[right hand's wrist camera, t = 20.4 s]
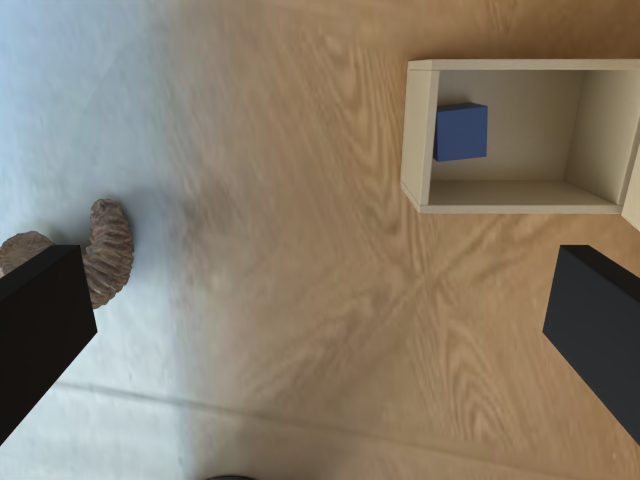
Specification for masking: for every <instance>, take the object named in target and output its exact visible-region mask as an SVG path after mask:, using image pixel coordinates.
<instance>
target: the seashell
mask: <svg viewBox="0 0 640 480" xmlns="http://www.w3.org/2000/svg"><path fill="white" fill-rule="evenodd" d="M90 219H91V222H92V225H91V226H90V228H91V231H92V234H91V236H90V238H89V240H90V242H91V243H92V244H91V245H89V246H87V247H86V248H85V249H86V253H87V254H82V259H83V263H84V268H85V273H86V278H87V283H88V288H89V293H90V297H91V302H92V307H93V309H97V308H99V307H100V306H101V305H106V304H107V303H108V301H109V300H111V299H112V298H113V297H115V294H116V293H119V291H121V290H122V288H123V286H125V285H126V284H127V282H128V279H129V277H130V275H129V274H130V272H131V269H132V266H131V264H132V263H133V258H134V257H133V256H132V253H133V252H134V245H133V242H132V241H133V239H132V233H131V231H130V230H129V224H128V222H127V219H126V218H125V217H124V215H123V214H122V210H121V208H120V204H118V203H115V202H114V201H112V200H110V199H106V200H104V199H100V200H98V201H96V202H95V203H94V204H93V206H92V208H91V216H90ZM51 245H56V244H55V243H53V242H51V241H50V239H48V238H47V237H45V236H44V235H41V234H39V233H38V232H36V231H30V232H27V233H21V234H17V235H16V236H13V237H11V238H9V239H7V241H5V242H4V243H3V244H2V246H1V247H0V278H2V277H3V276H5V275H6V274H8V273H9V272H11V271H12V270H14V269H15V268H17V267H18V266H20V265H22V264H23V263H25V262H26V261H28V260H29V259H31V258H32V257H34V256H35V255H37V254H39V253H40V252H42V251H43V250H45V249H46V248H48V247H49V246H51Z"/></svg>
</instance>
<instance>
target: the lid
mask: <svg viewBox="0 0 640 480" xmlns="http://www.w3.org/2000/svg"><path fill="white" fill-rule="evenodd" d="M621 216H623V217H624V218H625V219H626V220H627V221H628V222H629V223H631V224H632V225H633V226H634V227H635V228H636V229H637V230H639V231H640V144H639V148H638V151H637V155H636V159H635V163H634V167H633V171H632V175H631V179H630V183H629V187H628V191H627V195H626V199H625V203H624V207H623V211H622V215H621Z"/></svg>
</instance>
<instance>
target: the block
mask: <svg viewBox="0 0 640 480" xmlns="http://www.w3.org/2000/svg"><path fill="white" fill-rule="evenodd" d="M487 121H488V106H485V105H481V104H477V103H472V102H470V103H461V104H452V105H444V106H437V112H436V123H435V134H434V145H433V157H432V158H433V159H435V160H436V161H437V162H442V161H451V160H460V159H469V158H479V157H486V156H487Z"/></svg>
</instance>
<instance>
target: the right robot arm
mask: <svg viewBox="0 0 640 480" xmlns="http://www.w3.org/2000/svg"><path fill="white" fill-rule="evenodd" d="M97 332H98V331H97V327H96V322H95V317H94V312H93V307H92V302H91V297H90V293H89V288H88V283H87V278H86V273H85V268H84V263H83V259H82V254H81V249H80V245H51V246H49V247H48V248H46V249H45V250H43V251H42V252H40V253H39V254H37V255H35V256H34V257H32V258H31V259H29V260H28V261H26V262H25V263H23V264H22V265H20V266H18V267H17V268H15V269H14V270H12V271H11V272H9V273H8V274H6V275H5V276H3V277H2V278H0V446H1V445H2V444H3V442H4V441H5V440H6V439H7V438H8V437H9V435H10V434H11V433H12V432H13V431H14V429H15V428H16V427H17V426H18V425H19V424H20V422H21V421H22V420H23V419H24V418H25V417H26V415H27V414H28V413H29V412H30V411H31V410H32V408H33V407H34V406H35V405H36V404H37V402H38V401H39V400H40V399H41V398H42V397H43V395H44V394H45V393H46V392H47V391H48V390H49V388H50V387H51V386H52V385H53V384H54V383H55V381H56V380H57V379H58V378H59V377H60V376H61V374H62V373H63V372H64V371H65V370H66V368H67V367H68V366H69V365H70V364H71V363H72V361H73V360H74V359H75V358H76V357H77V356H78V354H79V353H80V352H81V351H82V350H83V349H84V347H85V346H86V345H87V344H88V343H89V341H90V340H91V339H92V338H93V337H94V336H95V334H96V333H97ZM542 332H543V333H544V334H545V336H546V337H547V338H548V339H549V340H550V341H551V343H552V344H553V345H554V346H555V347H556V349H557V350H558V351H559V352H560V353H561V354H562V356H563V357H564V358H565V359H566V360H567V361H568V363H569V364H570V365H571V366H572V367H573V368H574V370H575V371H576V372H577V373H578V374H579V376H580V377H581V378H582V379H583V380H584V381H585V383H586V384H587V385H588V386H589V387H590V388H591V390H592V391H593V392H594V393H595V394H596V395H597V397H598V398H599V399H600V400H601V401H602V402H603V404H604V405H605V406H606V407H607V408H608V410H609V411H610V412H611V413H612V414H613V415H614V417H615V418H616V419H617V420H618V421H619V422H620V424H621V425H622V426H623V427H624V428H625V429H626V431H627V432H628V433H629V434H630V435H631V437H632V438H633V439H634V440H635V441H636V442H637V444H638V445H639V446H640V278H638V277H637V276H635V275H634V274H632V273H631V272H629V271H628V270H626V269H625V268H623V267H622V266H620V265H618V264H617V263H615V262H614V261H612V260H611V259H609V258H608V257H606V256H605V255H603V254H601V253H600V252H598V251H597V250H595V249H594V248H592V247H591V246H589V245H560V249H559V254H558V259H557V263H556V268H555V273H554V278H553V283H552V288H551V293H550V297H549V302H548V307H547V312H546V317H545V322H544V327H543V331H542ZM209 480H250V479H246V478H241V477H219V478H213V479H209Z"/></svg>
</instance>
